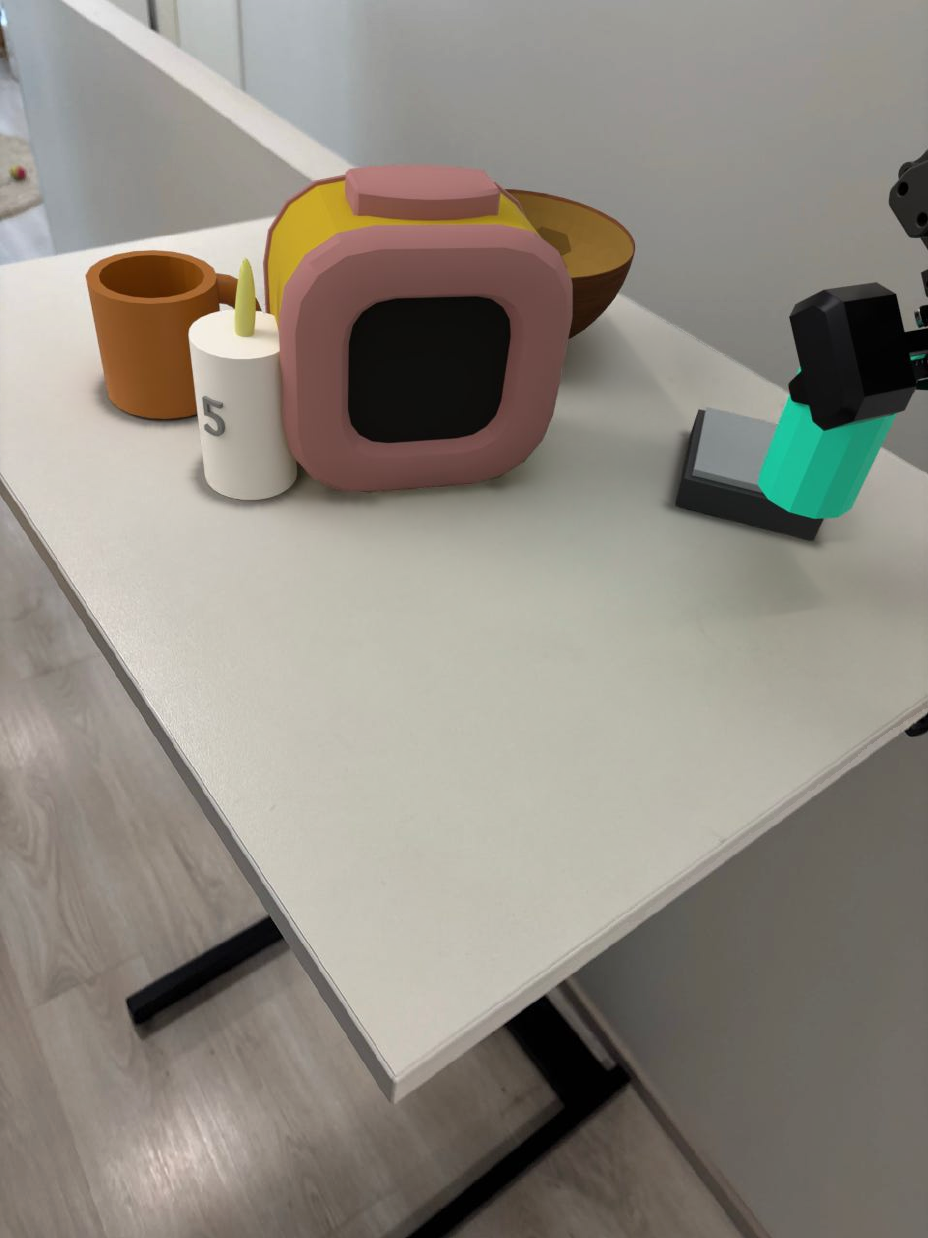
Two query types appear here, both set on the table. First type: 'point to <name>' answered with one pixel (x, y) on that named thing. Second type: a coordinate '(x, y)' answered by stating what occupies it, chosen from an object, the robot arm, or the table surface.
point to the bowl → (582, 250)
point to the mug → (153, 326)
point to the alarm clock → (414, 327)
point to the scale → (734, 474)
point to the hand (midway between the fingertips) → (830, 384)
